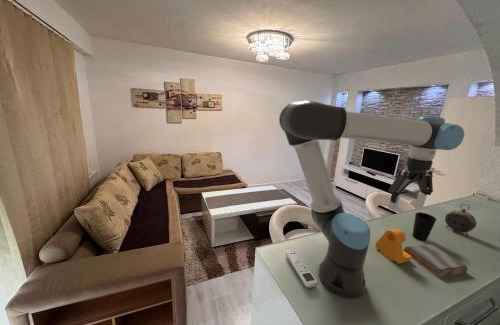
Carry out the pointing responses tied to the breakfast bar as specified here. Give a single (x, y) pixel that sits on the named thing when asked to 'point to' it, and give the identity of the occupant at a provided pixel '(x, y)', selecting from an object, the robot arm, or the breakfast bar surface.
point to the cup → (423, 226)
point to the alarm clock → (460, 220)
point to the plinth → (436, 260)
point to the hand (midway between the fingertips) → (405, 208)
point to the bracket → (393, 246)
